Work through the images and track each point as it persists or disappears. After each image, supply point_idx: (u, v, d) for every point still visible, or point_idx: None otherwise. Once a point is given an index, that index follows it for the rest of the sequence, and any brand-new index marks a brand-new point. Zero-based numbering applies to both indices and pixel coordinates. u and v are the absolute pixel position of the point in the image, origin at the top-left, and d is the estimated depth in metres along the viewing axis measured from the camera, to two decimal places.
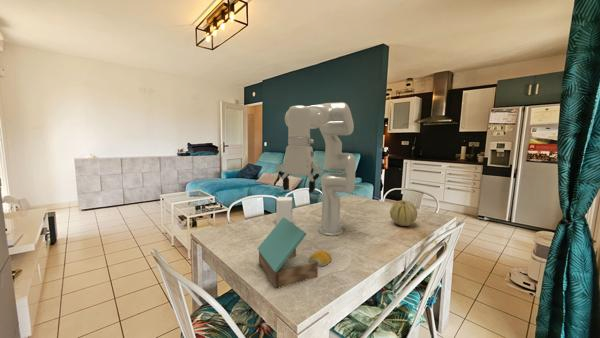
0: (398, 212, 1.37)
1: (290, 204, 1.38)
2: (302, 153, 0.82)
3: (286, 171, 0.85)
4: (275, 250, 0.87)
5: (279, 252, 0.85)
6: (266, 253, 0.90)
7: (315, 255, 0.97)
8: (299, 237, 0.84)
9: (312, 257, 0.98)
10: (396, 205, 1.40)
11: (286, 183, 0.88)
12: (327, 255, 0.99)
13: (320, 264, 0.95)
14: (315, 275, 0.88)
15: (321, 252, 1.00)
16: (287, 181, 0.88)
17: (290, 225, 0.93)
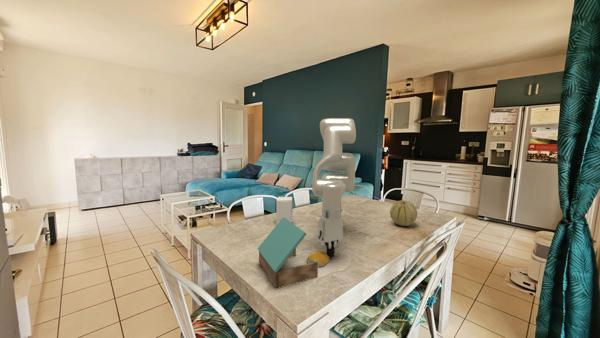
0: (398, 212, 1.37)
1: (290, 204, 1.38)
2: (339, 222, 0.99)
3: (325, 240, 0.97)
4: (275, 250, 0.87)
5: (279, 252, 0.85)
6: (266, 253, 0.90)
7: (312, 256, 0.97)
8: (299, 237, 0.84)
9: (309, 258, 0.97)
10: (396, 205, 1.40)
11: None
12: (325, 256, 0.98)
13: None
14: (315, 275, 0.88)
15: (319, 253, 1.00)
16: None
17: (290, 225, 0.93)
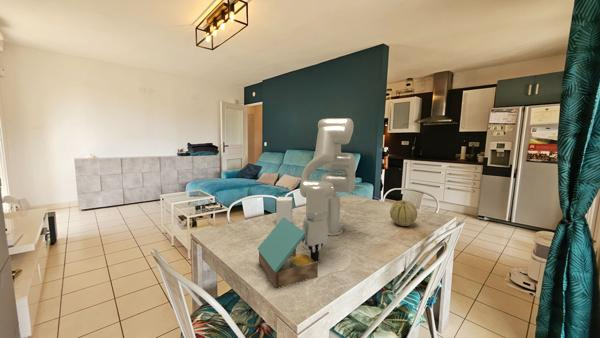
0: (398, 212, 1.37)
1: (290, 204, 1.38)
2: (323, 225, 0.95)
3: (309, 244, 0.94)
4: (275, 250, 0.87)
5: (279, 252, 0.85)
6: (266, 253, 0.90)
7: (295, 259, 0.94)
8: (299, 237, 0.84)
9: (292, 261, 0.94)
10: (396, 205, 1.40)
11: None
12: (308, 259, 0.95)
13: None
14: (315, 275, 0.88)
15: (302, 256, 0.97)
16: None
17: (290, 225, 0.93)
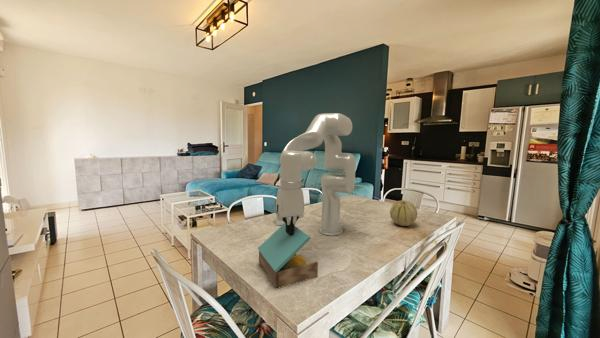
0: (398, 213, 1.37)
1: None
2: (298, 196, 0.89)
3: (282, 215, 0.87)
4: (277, 251, 0.88)
5: (281, 253, 0.85)
6: (267, 253, 0.90)
7: None
8: (303, 240, 0.85)
9: None
10: (396, 205, 1.40)
11: None
12: (301, 260, 0.94)
13: None
14: (315, 275, 0.88)
15: (296, 257, 0.96)
16: None
17: None
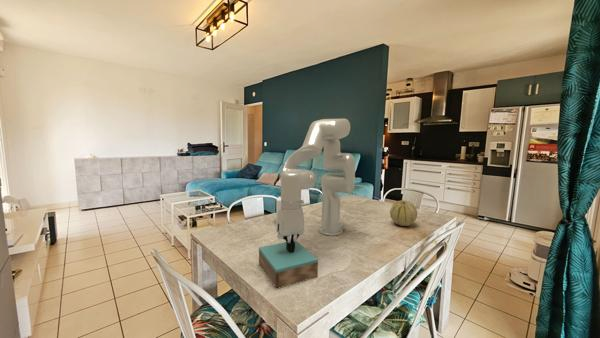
0: (398, 213, 1.37)
1: None
2: (299, 215, 0.91)
3: (283, 234, 0.89)
4: (280, 257, 0.89)
5: (285, 260, 0.86)
6: (269, 254, 0.91)
7: None
8: (310, 260, 0.87)
9: None
10: (396, 205, 1.40)
11: None
12: None
13: None
14: (315, 275, 0.88)
15: None
16: None
17: (301, 248, 0.96)
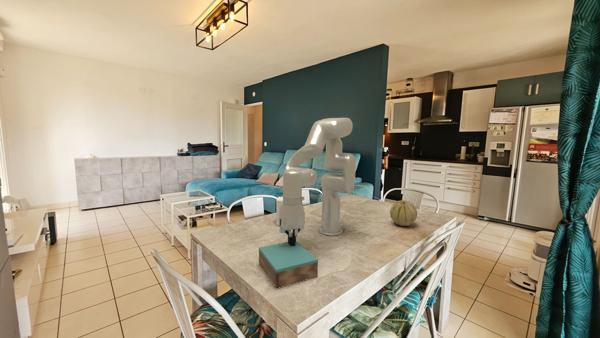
0: (398, 213, 1.37)
1: None
2: (299, 210, 0.97)
3: (285, 228, 0.95)
4: (280, 257, 0.89)
5: (285, 260, 0.86)
6: (269, 254, 0.91)
7: None
8: (310, 260, 0.87)
9: None
10: (396, 205, 1.40)
11: None
12: None
13: None
14: (315, 275, 0.88)
15: None
16: None
17: (301, 248, 0.96)
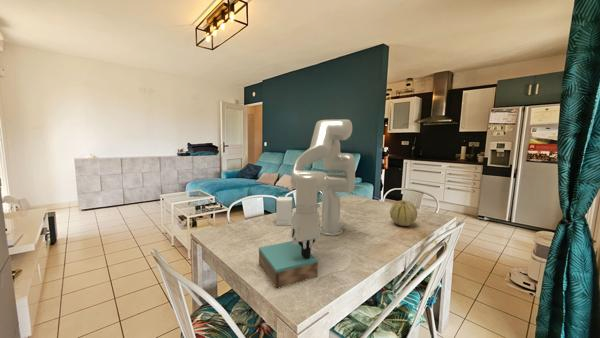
0: (398, 213, 1.37)
1: (290, 204, 1.38)
2: (315, 219, 0.86)
3: (299, 239, 0.85)
4: (280, 257, 0.89)
5: (285, 260, 0.86)
6: (269, 254, 0.91)
7: None
8: (310, 260, 0.87)
9: None
10: (396, 205, 1.40)
11: None
12: None
13: None
14: (315, 275, 0.88)
15: None
16: None
17: None
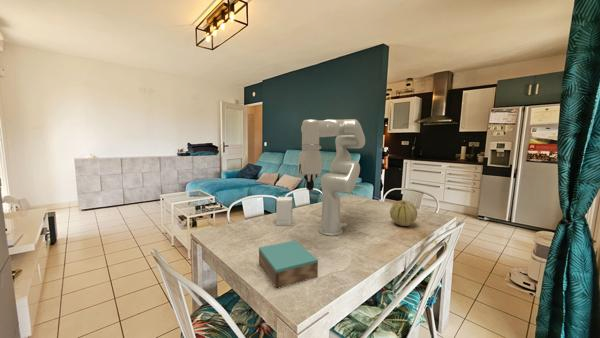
0: (398, 212, 1.37)
1: (290, 204, 1.38)
2: (317, 156, 1.06)
3: (304, 172, 1.04)
4: (280, 257, 0.89)
5: (285, 260, 0.86)
6: (269, 254, 0.91)
7: None
8: (310, 260, 0.87)
9: None
10: (396, 205, 1.40)
11: None
12: None
13: None
14: (315, 275, 0.88)
15: None
16: None
17: (301, 248, 0.96)
